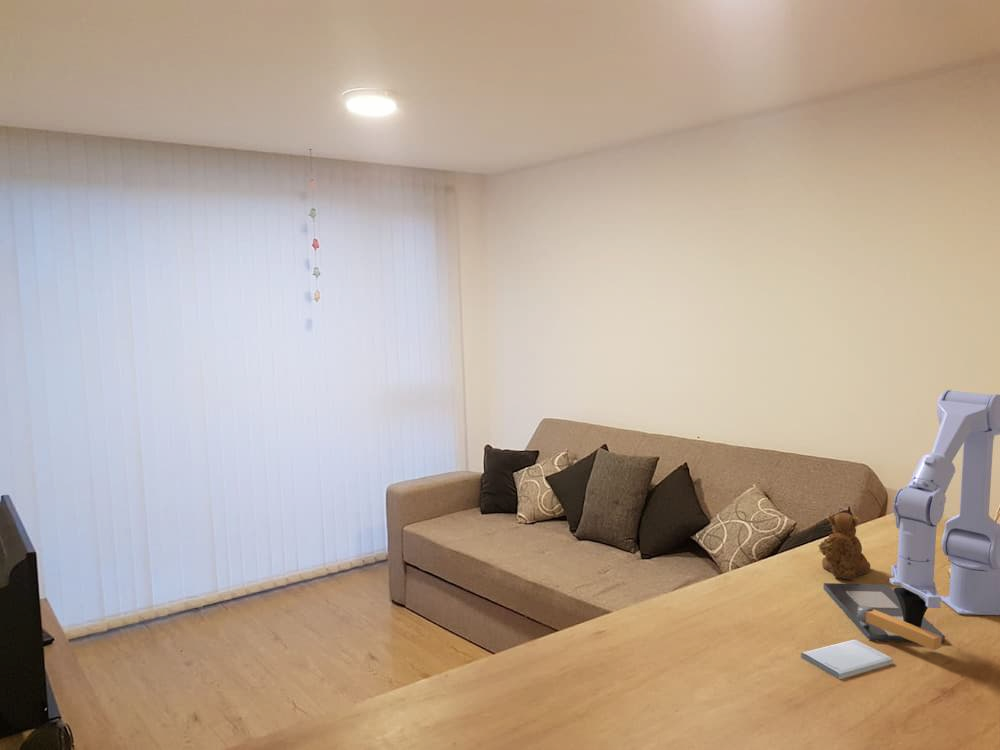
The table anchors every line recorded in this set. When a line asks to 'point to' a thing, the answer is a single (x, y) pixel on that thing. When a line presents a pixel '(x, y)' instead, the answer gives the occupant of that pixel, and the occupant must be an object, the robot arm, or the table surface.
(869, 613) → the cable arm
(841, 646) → the hard drive
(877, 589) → the psu panel
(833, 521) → the stuffed squirrel
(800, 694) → the table surface
